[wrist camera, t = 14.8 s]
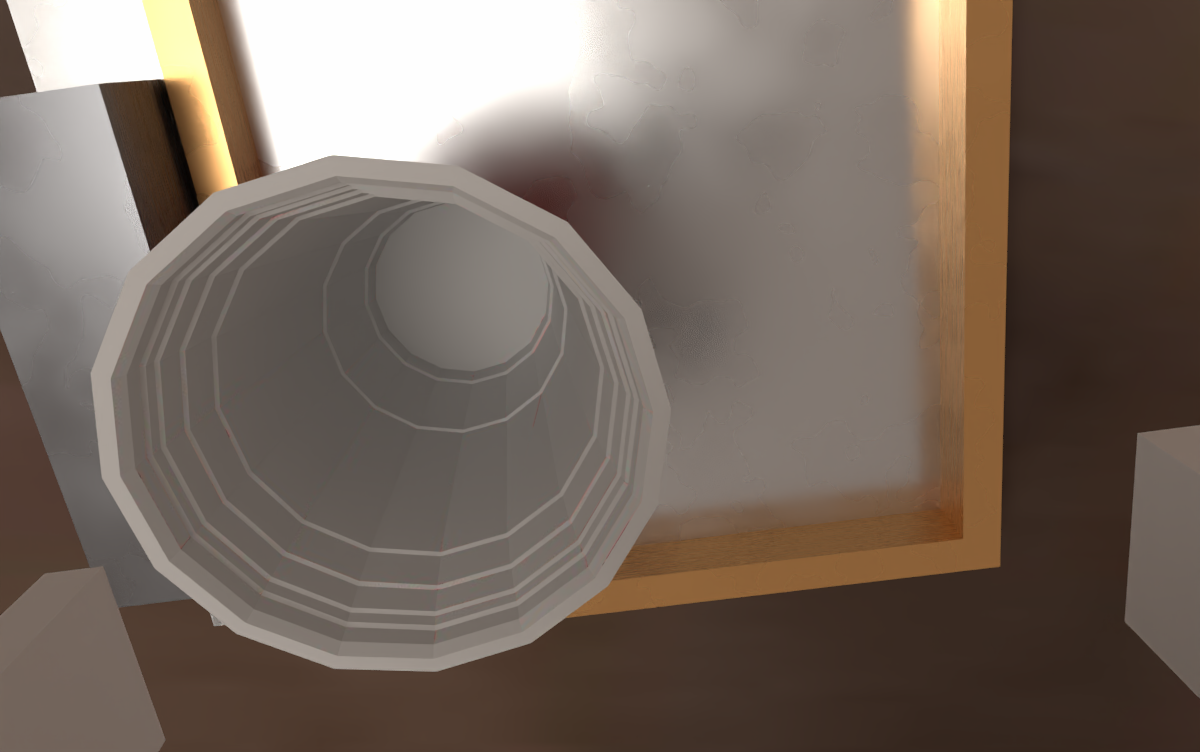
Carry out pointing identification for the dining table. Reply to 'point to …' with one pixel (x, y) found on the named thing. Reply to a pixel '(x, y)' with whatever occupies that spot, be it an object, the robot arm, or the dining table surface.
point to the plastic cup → (380, 414)
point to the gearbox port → (589, 235)
